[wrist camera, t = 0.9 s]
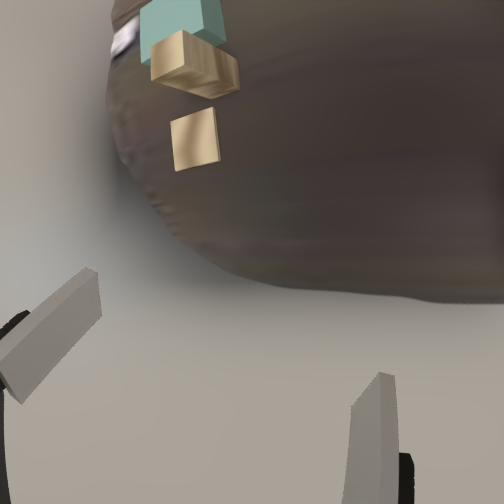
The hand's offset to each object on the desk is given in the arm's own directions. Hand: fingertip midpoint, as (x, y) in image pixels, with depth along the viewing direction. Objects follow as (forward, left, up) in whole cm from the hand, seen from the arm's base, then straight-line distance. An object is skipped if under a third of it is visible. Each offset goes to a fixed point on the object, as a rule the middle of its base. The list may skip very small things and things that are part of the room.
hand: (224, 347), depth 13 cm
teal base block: (+19, -36, -27) cm, 49 cm away
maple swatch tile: (+20, -16, -27) cm, 37 cm away
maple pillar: (+14, -24, -27) cm, 39 cm away
